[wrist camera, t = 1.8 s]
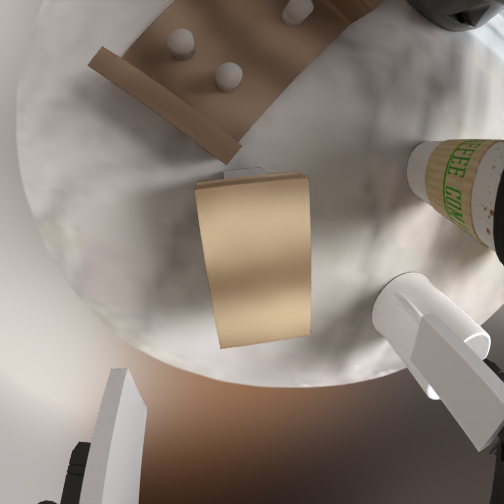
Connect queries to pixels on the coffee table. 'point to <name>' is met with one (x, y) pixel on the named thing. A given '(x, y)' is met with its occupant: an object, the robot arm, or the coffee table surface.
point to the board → (257, 256)
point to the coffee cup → (463, 185)
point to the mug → (409, 316)
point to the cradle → (225, 61)
